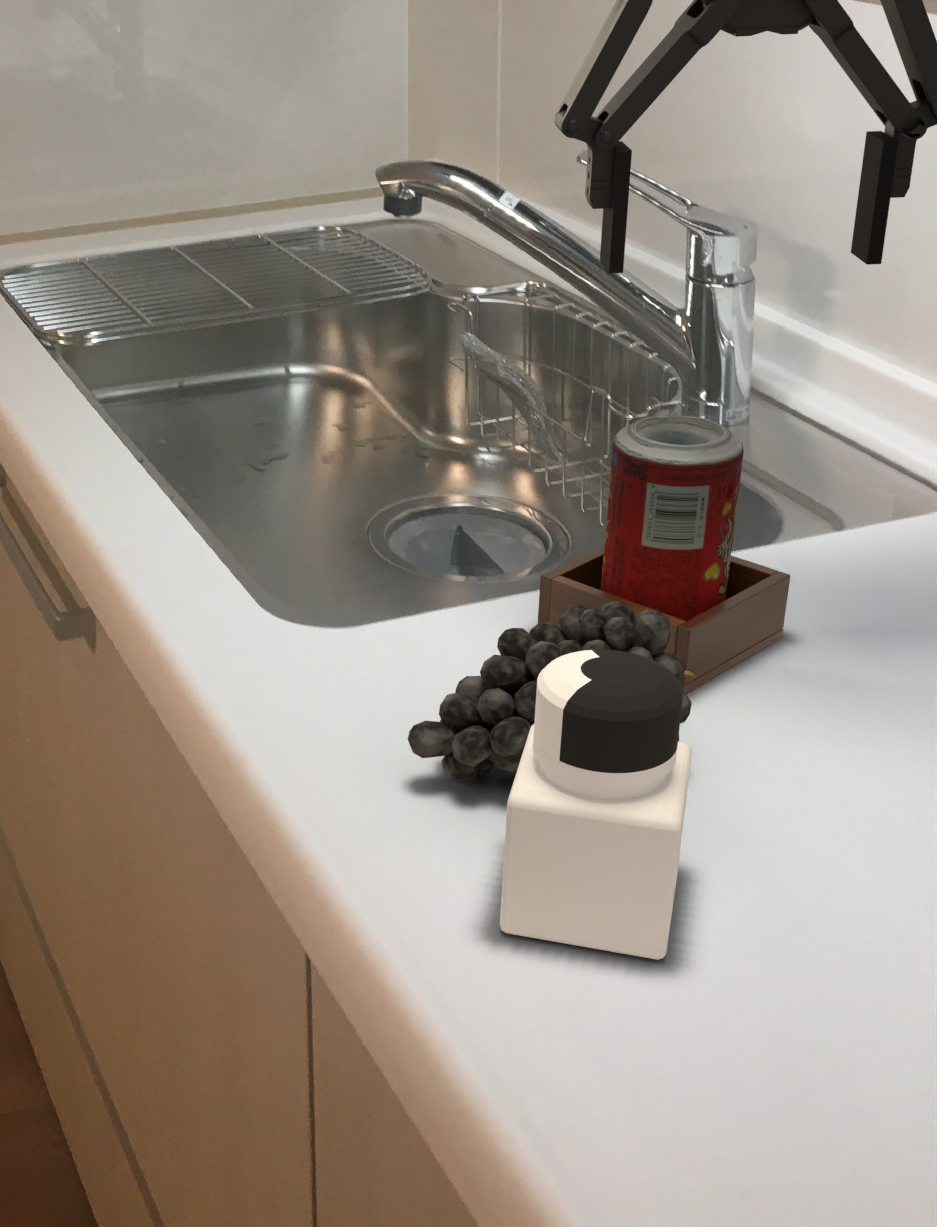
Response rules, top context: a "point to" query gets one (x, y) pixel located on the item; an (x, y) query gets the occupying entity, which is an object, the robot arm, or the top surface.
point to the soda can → (672, 513)
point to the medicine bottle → (598, 806)
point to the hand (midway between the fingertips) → (737, 263)
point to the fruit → (531, 685)
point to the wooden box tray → (701, 640)
